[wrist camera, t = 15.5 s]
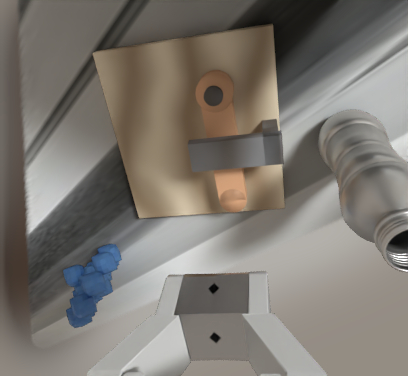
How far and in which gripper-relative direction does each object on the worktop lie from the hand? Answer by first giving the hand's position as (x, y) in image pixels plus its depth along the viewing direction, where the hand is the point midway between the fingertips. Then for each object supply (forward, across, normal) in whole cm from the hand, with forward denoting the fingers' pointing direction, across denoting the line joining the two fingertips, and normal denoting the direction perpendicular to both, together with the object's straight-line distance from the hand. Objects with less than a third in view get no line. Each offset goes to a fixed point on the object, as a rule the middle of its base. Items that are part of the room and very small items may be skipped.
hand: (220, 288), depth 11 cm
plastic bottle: (+31, -10, +8) cm, 34 cm away
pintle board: (+31, +6, +6) cm, 32 cm away
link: (+29, +3, +7) cm, 30 cm away
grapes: (+31, +22, +22) cm, 44 cm away
